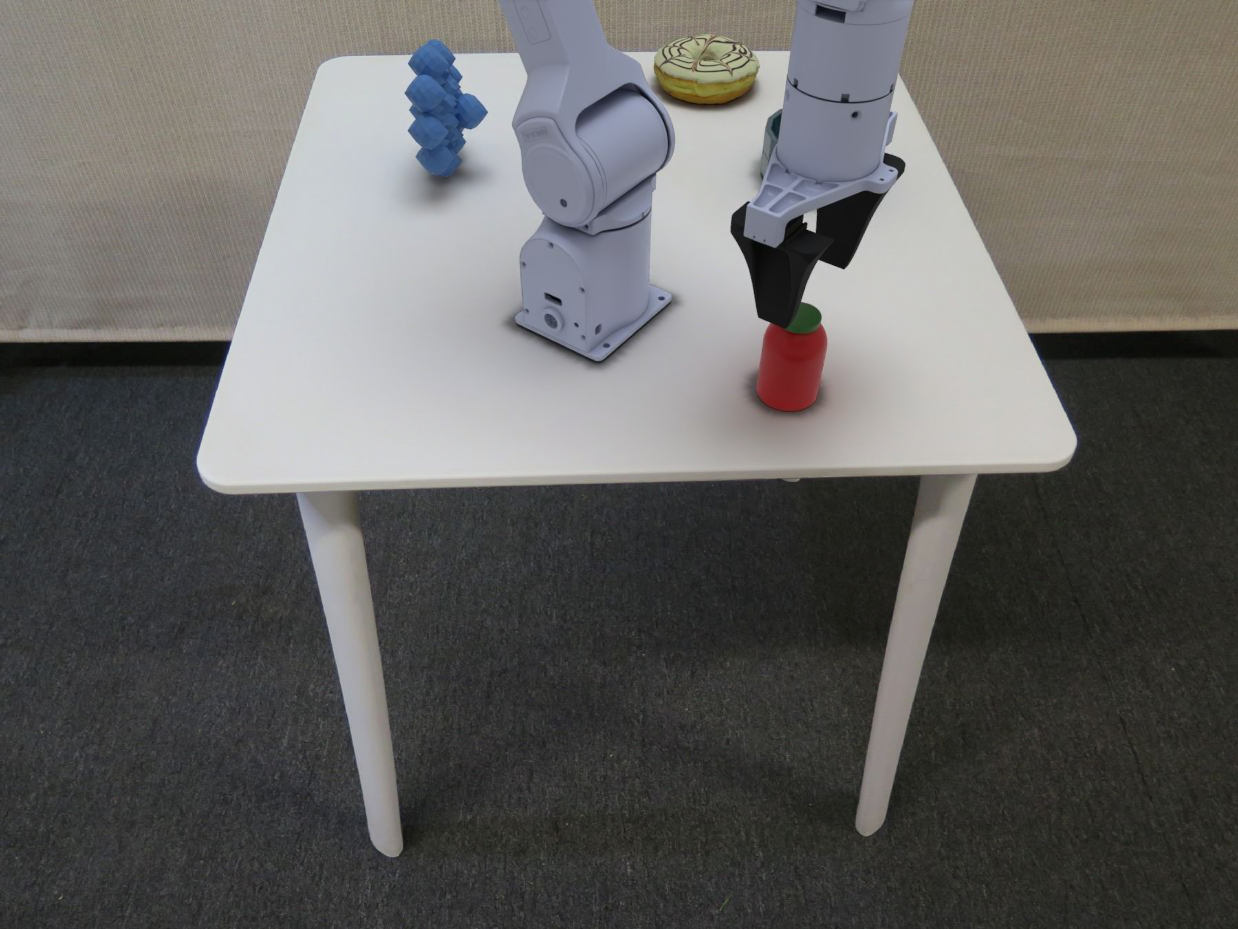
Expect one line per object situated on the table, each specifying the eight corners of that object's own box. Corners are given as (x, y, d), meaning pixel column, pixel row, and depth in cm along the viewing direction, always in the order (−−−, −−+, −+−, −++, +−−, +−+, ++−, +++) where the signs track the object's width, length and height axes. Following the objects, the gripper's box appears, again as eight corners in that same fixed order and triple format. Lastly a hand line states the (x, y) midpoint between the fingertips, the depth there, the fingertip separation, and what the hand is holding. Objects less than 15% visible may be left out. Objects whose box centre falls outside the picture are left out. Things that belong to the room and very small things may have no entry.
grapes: (485, 210, 84) (471, 72, 75) (405, 208, 84) (383, 69, 75) (501, 143, 92) (490, 11, 83) (429, 141, 92) (411, 9, 84)
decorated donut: (767, 72, 103) (772, 35, 100) (741, 117, 96) (745, 79, 93) (672, 56, 106) (674, 20, 103) (640, 99, 98) (641, 61, 96)
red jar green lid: (798, 420, 66) (813, 343, 61) (744, 395, 68) (755, 318, 63) (828, 386, 68) (844, 310, 64) (775, 363, 70) (787, 287, 65)
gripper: (847, 155, 47) (805, 375, 56) (965, 51, 55) (911, 258, 65) (719, 113, 49) (701, 329, 59) (850, 20, 58) (815, 223, 67)
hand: (804, 290), depth 62 cm, fingers open, 7 cm apart
